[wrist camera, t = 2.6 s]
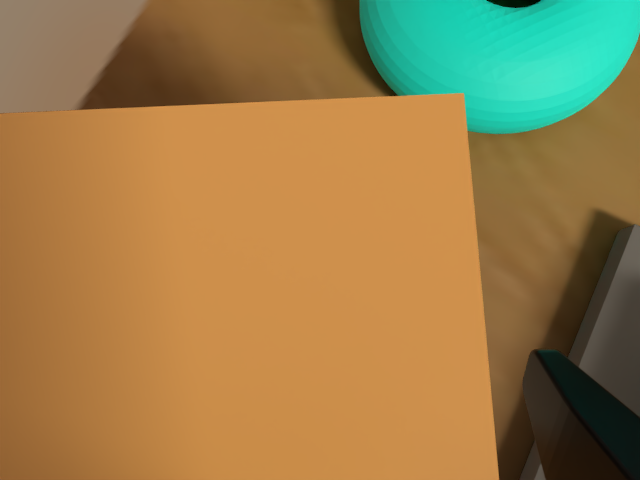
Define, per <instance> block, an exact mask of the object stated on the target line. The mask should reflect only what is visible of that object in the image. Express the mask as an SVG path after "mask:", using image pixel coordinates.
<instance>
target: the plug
mask: <svg viewBox="0 0 640 480" xmlns="http://www.w3.org/2000/svg"><path fill="white" fill-rule="evenodd" d="M0 480H499V473H498V462H497V451H496V440H495V429H494V418H493V407H492V396H491V385H490V374H489V363H488V352H487V341H486V330H485V319H484V308H483V297H482V286H481V275H480V264H479V253H478V242H477V231H476V220H475V209H474V198H473V187H472V177H471V166H470V155H469V144H468V133H467V122H466V111H465V100H464V93H455V94H432V95H409V96H386V97H363V98H341V99H318V100H295V101H272V102H249V103H226V104H204V105H181V106H158V107H135V108H112V109H90V110H67V111H45V112H23V113H22V112H21V113H0Z"/></svg>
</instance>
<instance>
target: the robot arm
mask: <svg viewBox="0 0 640 480" xmlns="http://www.w3.org/2000/svg"><path fill="white" fill-rule="evenodd" d="M522 386H523V394H524V398H525V402H526V406H527V410H528V414H529V418H530V422H531V426H532V430H533V433H534V437H535V441H536V445H537V449H538V453H539V457H540V461H541V465H542V468H543V472H544V476H545V479H546V480H640V417H639V416H638V415H637V414H636V413H635V412H633V411H632V410H631V409H630V408H628V407H627V406H626V405H625V404H624V403H622V402H621V401H620V400H619V399H617V398H616V397H615V396H614V395H613V394H611V393H610V392H609V391H608V390H606V389H605V388H604V387H603V386H602V385H600V384H599V383H598V382H597V381H595V380H594V379H593V378H592V377H591V376H589V375H588V374H587V373H586V372H584V371H583V370H582V369H581V368H580V367H578V366H577V365H576V364H575V363H573V362H572V361H571V360H570V359H569V358H567V357H566V356H565V355H564V354H562V353H561V352H560V351H558V350H556V349H535V350H532V351H531V353H530V355H529V358H528V362H527V366H526V370H525V374H524V377H523V384H522Z"/></svg>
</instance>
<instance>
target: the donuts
mask: <svg viewBox="0 0 640 480" xmlns="http://www.w3.org/2000/svg"><path fill="white" fill-rule="evenodd" d="M359 13H360V24H361V30H362V34H363V38H364V42H365V45H366V47H367V50H368V52H369V55H370V57H371V59H372V62H373V64H374V65H375V67H376V69H377V71H378V72H379V74H380V75H381V77H382V78H383V79H384V81H385V82H386V83H387V84H388V86H389V87H390V88H391V89H392V90H393V91H394V92H395V93H396V94H397V95H398V96H409V95H432V94H455V93H464V100H465V111H466V122H467V131H472V132H478V133H489V134H508V133H519V132H525V131H530V130H534V129H538V128H542V127H545V126H548V125H551V124H553V123H555V122H558V121H560V120H563V119H565V118H567V117H569V116H571V115H573V114H574V113H576V112H578V111H580V110H581V109H583V108H584V107H586V106H587V105H588V104H590V103H591V102H592V101H594V100H595V99H596V98H597V97H598V96H599V95H600V94H601V93H602V92H604V91H605V90H606V89H607V88H608V87H609V86H610V84H611V83H612V82H613V81H614V80H615V79H616V77H617V76H618V75H619V74H620V72H621V71H622V69H623V68H624V66H625V64H626V63H627V61H628V59H629V57H630V55H631V53H632V51H633V49H634V47H635V45H636V42H637V40H638V37H639V33H640V0H541V1H540V2H538V3H536V4H534V5H531V6H528V7H521V8H510V7H503V6H499V5H495V4H493V3H491V2H488V1H487V0H360V9H359Z"/></svg>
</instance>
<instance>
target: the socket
mask: <svg viewBox="0 0 640 480" xmlns="http://www.w3.org/2000/svg"><path fill="white" fill-rule="evenodd" d="M568 358H569V359H570V360H571V361H572V362H573V363H575V364H576V365H577V366H578V367H580V368H581V369H582V370H583V371H584V372H586V373H587V374H588V375H589V376H591V377H592V378H593V379H594V380H595V381H597V382H598V383H599V384H600V385H602V386H603V387H604V388H605V389H606V390H608V391H609V392H610V393H611V394H613V395H614V396H615V397H616V398H617V399H619V400H620V401H621V402H622V403H624V404H625V405H626V406H627V407H628V408H630V409H631V410H632V411H633V412H635V413H636V414H637V415H638V416H639V417H640V226H638V225H635V224H634V225H632V226H630V227H627V228H625V229H622V230H620V231H618V233H617V236H616V238H615V241H614V243H613V246H612V248H611V251H610V253H609V256H608V258H607V261H606V263H605V266H604V268H603V271H602V273H601V276H600V278H599V281H598V283H597V286H596V288H595V291H594V293H593V296H592V298H591V301H590V303H589V306H588V308H587V311H586V313H585V316H584V318H583V321H582V323H581V326H580V328H579V331H578V333H577V336H576V338H575V341H574V343H573V346H572V348H571V351H570V353H569V356H568ZM519 480H546V479H545V476H544V472H543V468H542V465H541V461H540V457H539V453H538V449H537V445H536V441H534V444H533V446H532V449H531V451H530V454H529V456H528V459H527V461H526V464H525V466H524V469H523V471H522V474H521V476H520V479H519Z"/></svg>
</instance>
